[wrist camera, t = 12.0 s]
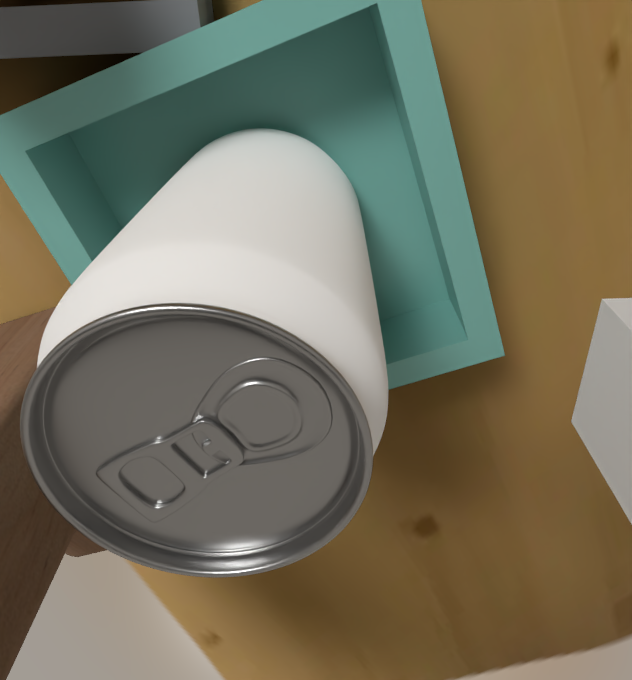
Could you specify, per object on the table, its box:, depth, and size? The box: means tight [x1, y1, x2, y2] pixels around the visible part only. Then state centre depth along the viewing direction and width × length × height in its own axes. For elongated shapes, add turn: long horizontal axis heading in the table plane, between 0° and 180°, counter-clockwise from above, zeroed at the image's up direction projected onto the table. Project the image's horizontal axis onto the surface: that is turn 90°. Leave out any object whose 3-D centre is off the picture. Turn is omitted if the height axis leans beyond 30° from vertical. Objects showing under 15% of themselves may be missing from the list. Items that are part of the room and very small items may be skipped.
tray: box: [0, 0, 505, 390], centre depth 19 cm, size 12×12×4 cm
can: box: [20, 128, 388, 577], centre depth 14 cm, size 6×6×12 cm
